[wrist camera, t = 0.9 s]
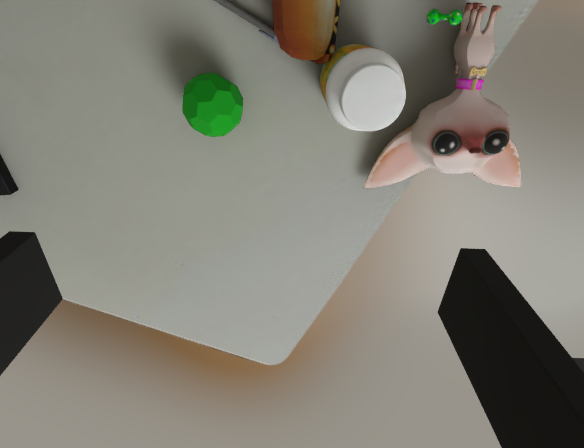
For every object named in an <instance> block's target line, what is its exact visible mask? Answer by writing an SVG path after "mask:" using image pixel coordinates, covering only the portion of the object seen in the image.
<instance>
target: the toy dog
mask: <svg viewBox="0 0 584 448" xmlns="http://www.w3.org/2000/svg"><path fill="white" fill-rule="evenodd" d="M470 10H471V13H470V18H469V23H468V26H467V29H466V30H465V22H466V17H467V14H468V11H470ZM486 10H487V7H486V6H482V3H473V4H472V3H466V5H465V8H464V13H463V14H462V12H461V11H459V10H453V11H452V12H451V13H450V14H440V12H439V11H438V10H436V9H433V10H431V11H430V12H429V13H428V14H427V22H428V23H430V24H435V23H437V22H438V21H439V20H448V22H449V23H450V24H451V25H453V26H454V25H457V24H459V23H460V22H461V26H460V31H459V34H458V37H457V39H456V42H455V45H454V56H455V60H456V66H455V75H458V67H459V66H460V67H461V69H462V78H457V84H456V90H455V91H454V92H453V93H451V94H450V95H449V96H448V97H445V98H443V99H440V100H438V101H435V102H433V103H430V104H429V105H427V106H426V107H425V108H424V109H423V110H422V111H420V114H419V117H418V119H417V121H416V122H415V123H414V124H412V125H411V126H409V127H408V128H406V129H405V130H403V131H402V132H401V133H399V134H398V135H397V136H395V137H394V138H393V139H392V140H391V141H390V142H389V143H388V144H387V146H386V147H385V148H384V149H383V151H382V152H381V154H380V155H379V157H378V158H377V160H376V162H375V164H374V165H373V167H372V169H371V171H370V174H369V176H368V178H367V180H366V182H365V185H364V187H363V188H373V187H379V186H385V185H390V184H394V183H397V182H400V181H403V180H405V179H407V178H409V177H411V176H413V175H415V174H416V173H418V172H420V171H422V170H425V169H428V168H431V167H432V168H435V169H437V170H439V171H441V172H443V173H450V174H457V173H468V172H471V173H472V174H474V175H475V176H477V177H478V178H480V179H482V180H484V181H486V182H489V183H492V184H497V185H503V186H510V187H521V173H520V160H519V155H518V152H517V149H516V146H515V144H514V143H513V141H512V140H511V138H510V135H509V124H508V114H506V112H505V111H504V110H503V109H502V108H501V107H500V106H498V105H497V104H495V103H493V102H492V101H490V100H488V99H486V98H485V97H483V96H482V94H481V93H480V89H481V88H482V83H483V82H484V80H482V79H479V78H480V76H484V75H485V74H486V71H487V68H486V67H487V65H488V64H489V62H490V60H491V59H492V57H493V54H494V51H495V39H494V35H493V27H494V21H495V17H496V13H497V11H500V10H501V6H497V5H493V6H492V8H491V12H490V16H489V20H488V23H487V25H486V27H485V29H484V30H483V31H482V32H481V31H480V23H481V18H482V14H483V12H485V11H486ZM477 11H478V12H477ZM476 12H477V16H476ZM475 16H476V19H475ZM461 20H462V21H461ZM474 21H475V22H474Z"/></svg>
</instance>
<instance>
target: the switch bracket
mask: <svg viewBox="0 0 584 448" xmlns="http://www.w3.org/2000/svg"><path fill="white" fill-rule="evenodd" d="M17 190H18V188H17V186H16V184H15V182H14V180H13V178H12V176H11V174H10V172H9V170H8V168H7V166H6V165H5V163H4V161H3V159H2V157H1V155H0V195H11V194H12V193H14V192H16V191H17Z"/></svg>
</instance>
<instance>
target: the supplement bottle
mask: <svg viewBox="0 0 584 448" xmlns="http://www.w3.org/2000/svg"><path fill="white" fill-rule="evenodd" d="M320 86H321V91H322V94H323V97H324V99H325V101H326V104H327V106H328V109H329V111H330V112H331V114H332V116H333V117H334V118H335V119H336V120H337V121H338V122H339V123H340V124H341V125H343V126H344V127H346V128H349V129H352V130H356V131H377V130H380V129H383V128H385V127H387V126H389V125H390V124H391V123H393V122H394V121H395V120H396V119H397V117H398V116H399V115H400V113H401V111H402V109H403V107H404V104H405V99H406V89H405V84H404V77H403V73H402V70H401V68H400V66H399V65H398V63H397V62H396V60H395V59H394V58H393V57H392V56H390V55H389V54H387V53H386V52H384V51H382V50H379V49H376V48H373V47H368V46H365V45H361V44H349V45H345V46H342V47H340V48H338V49H337V50H335V51H334V54H333V55H332V57H331V59H330V61H329V62H325V63H324V65H323V68H322V71H321V75H320Z"/></svg>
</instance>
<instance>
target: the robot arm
mask: <svg viewBox="0 0 584 448" xmlns="http://www.w3.org/2000/svg"><path fill="white" fill-rule="evenodd" d="M62 299H63V298H62V296H61V294H60V291H59V289H58V286H57V284H56V282H55V279H54V277H53V274H52V272H51V270H50V267H49V265H48V263H47V260H46V258H45V255H44V253H43V251H42V248H41V246H40V243H39V241H38V239H37V236H36V234H35V232H8V233H7V234H6V235H4V236H3V237H2V238H0V375H1V374H2V373H3V371H4V370H5V369H6V368H7V367H8V365H9V364H10V363H11V362H12V361H13V359H14V358H15V357H16V356H17V354H18V353H19V352H20V351H21V349H22V348H23V347H24V346H25V345H26V343H27V342H28V341H29V340H30V338H31V337H32V336H33V335H34V333H35V332H36V331H37V330H38V328H39V327H40V326H41V325H42V324H43V322H44V321H45V320H46V319H47V317H48V316H49V315H50V314H51V313H52V311H53V310H54V309H55V307H57V305H58V304H59V303H60V302H61V300H62ZM438 314H439V316H440V318H441V320H442V322H443V324H444V327H445V329H446V330H447V333H448V335H449V337H450V339H451V341H452V343H453V345H454V348H455V350H456V352H457V354H458V356H459V358H460V360H461V362H462V365H463V366H464V369H465V371H466V373H467V375H468V377H469V379H470V381H471V384H472V386H473V388H474V390H475V392H476V394H477V396H478V398H479V400H480V403H481V405H482V407H483V408H484V411H485V413H486V415H487V417H488V419H489V422H490V424H491V426H492V428H493V430H494V432H495V434H496V436H497V439H498V441H499V443H500V445H501V447H502V448H584V358H572V357H571V356H570V355H569V354H568V352H567V351H566V350H565V349H564V347H563V346H562V345H561V344H560V342H559V341H558V340H557V339H556V338H555V336H554V335H553V334H552V332H551V331H550V330H549V329H548V327H547V326H546V325H545V324H544V322H543V321H542V320H541V319H540V317H539V316H538V315H537V314H536V313H535V311H534V310H533V309H532V307H531V306H530V305H529V304H528V302H527V301H526V300H525V299H524V297H523V296H522V295H521V294H520V293H519V291H518V290H517V289H516V287H515V286H514V285H513V284H512V282H511V281H510V280H509V279H508V277H507V276H506V275H505V274H504V272H503V271H502V270H501V269H500V267H499V266H498V265H497V264H496V262H495V261H494V260H493V259H492V257H491V256H490V255H489V253H488V252H487V251H486V250H485V249H464V248H461V249H460V252H459V255H458V257H457V260H456V263H455V266H454V268H453V271H452V274H451V276H450V279H449V282H448V285H447V288H446V290H445V293H444V296H443V299H442V301H441V305H440V307H439V310H438Z"/></svg>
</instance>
